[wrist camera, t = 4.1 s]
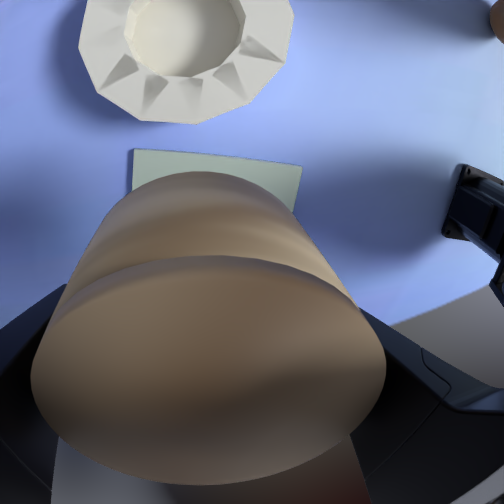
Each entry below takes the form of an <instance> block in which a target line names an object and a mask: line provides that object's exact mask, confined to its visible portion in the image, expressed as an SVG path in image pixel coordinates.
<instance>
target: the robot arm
mask: <svg viewBox="0 0 504 504" xmlns="http://www.w3.org/2000/svg"><path fill="white" fill-rule="evenodd" d="M442 235H443V236H445V237H446V238H452V239H459V240H465V241H471V242H473V243H474V244H475V245H476V246H478V247H479V248H480V249H482V250H483V251H484V252H485V253H487V254H488V255H489V256H490V257H492V258H493V259H494V260H495V261H497V262H498V263H499V265H498V268H497V270H496V272H495V275H494V277H493V279H491V281H490V283H489V286H490V287H491V289H492V290H493V292H494V294H495V295H496V297H497V298H498V300H499V301H500V303H501V304H502V306H503V307H504V181H503V180H501V179H499V178H497V177H495V176H492V175H490V174H488V173H486V172H484V171H481V170H479V169H477V168H474V167H472V166H470V165H467V164H465V165H464V166H463V168H462V171H461V174H460V178H459V181H458V184H457V187H456V191H455V194H454V197H453V200H452V203H451V206H450V209H449V212H448V214H447V217H446V220H445V223H444V225H443V228H442ZM66 286H67V284H63V285H62V286H60V287H59V288H57V289H56V290H54V291H53V292H51V293H50V294H49V295H47V296H46V297H44V298H43V299H41V300H40V301H39V302H37V303H36V304H34V305H33V306H32V307H30V308H29V309H27V310H26V311H25V312H23V313H22V314H20V315H19V316H18V317H16V318H15V319H14V320H12V321H11V322H10V323H8V324H7V325H6V326H4V327H3V328H2V329H0V504H51V495H52V491H51V490H52V482H53V474H54V466H55V458H56V451H57V445H58V438H59V436H58V435H57V433H56V432H55V431H54V430H53V429H52V428H51V427H50V426H49V424H48V423H47V422H46V420H45V419H44V418H43V416H42V415H41V413H40V411H39V409H38V407H37V405H36V403H35V400H34V396H33V393H32V389H31V369H32V363H33V360H34V357H35V355H36V352H37V350H38V347H39V345H40V342H41V340H42V338H43V335H44V333H45V331H46V328H47V326H48V324H49V322H50V319H51V317H52V315H53V313H54V311H55V308H56V306H57V304H58V302H59V300H60V298H61V296H62V294H63V292H64V290H65V288H66ZM358 308H359V307H358ZM359 309H360V311H361V312H362V314H363V315H364V317H365V318H366V320H367V321H368V323H369V324H370V326H371V327H372V329H373V330H374V332H375V334H376V335H377V337H378V339H379V341H380V343H381V345H382V347H383V350H384V354H385V358H386V377H385V381H384V386H383V389H382V391H381V394H380V396H379V398H378V400H377V402H376V403H375V405H374V407H373V408H372V410H371V411H370V413H369V414H368V415H367V416H366V418H365V419H364V420H363V421H362V422H361V423H360V425H359V426H358V427H357V428H356V429H355V430H353V431H352V432H351V433H350V437H351V440H352V443H353V446H354V449H355V452H356V455H357V458H358V461H359V464H360V467H361V470H362V473H363V477H364V479H365V483H366V487H367V489H368V493H369V496H370V499H371V502H372V504H504V389H503V388H495V387H491V386H489V385H487V384H484V383H482V382H480V381H479V380H477V379H475V378H473V377H471V376H470V375H468V374H466V373H464V372H462V371H460V370H459V369H457V368H455V367H453V366H452V365H450V364H448V363H446V362H444V361H443V360H441V359H440V358H438V357H436V356H435V355H433V354H432V353H430V352H428V351H427V350H425V349H424V348H421V347H420V346H419V345H418V344H416V343H414V342H413V341H411V340H410V339H408V338H407V337H405V336H403V335H402V334H400V333H399V332H397V331H396V330H394V329H392V328H391V327H389V326H388V325H386V324H385V323H383V322H381V321H380V320H378V319H377V318H375V317H374V316H372V315H370V314H369V313H367V312H366V311H364V310H363V309H361V308H359Z"/></svg>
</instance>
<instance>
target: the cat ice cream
mask: <svg viewBox="0 0 504 504" xmlns="http://www.w3.org/2000/svg"><path fill="white" fill-rule="evenodd" d="M490 24H491V27H492V29H493V32H494V34H495V35H496V37H497V38H498V39H499V40H500V41H501V42H502V43H503V44H504V0H498V1H497V2H496V3H494V4H493V6H492V7H491V10H490Z"/></svg>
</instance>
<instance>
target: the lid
mask: <svg viewBox="0 0 504 504" xmlns="http://www.w3.org/2000/svg"><path fill="white" fill-rule="evenodd" d="M385 377H386V358H385V354H384V350H383V347H382V345H381V343H380V341H379V339H378V337H377V335H376V334H375V332H374V330H373V329H372V327H371V326H370V324H369V323H368V321H367V320H366V318H365V317H364V315H363V314H362V312H361V311H360V309H359V308H358V306H357V305H356V303H355V302H354V300H353V299H352V297H351V296H350V294H349V293H348V291H347V290H346V288H345V287H344V285H343V284H342V282H341V281H340V280H339V278H338V277H337V275H336V274H335V272H334V271H333V269H332V268H331V267H330V265H329V264H328V262H327V261H326V259H325V258H324V257H323V255H322V254H321V252H320V251H319V249H318V248H317V247H316V245H315V244H314V242H313V241H312V240H311V238H310V237H309V235H308V234H307V233H306V231H305V230H304V228H303V227H302V226H301V224H300V223H299V222H298V220H297V219H296V218H295V216H294V215H293V214H292V212H291V211H290V210H289V209H288V208H287V207H286V206H285V204H284V203H283V202H281V201H280V200H279V199H278V198H277V197H275V196H274V195H273V194H272V193H270V192H269V191H267V190H265V189H264V188H262V187H261V186H259V185H257V184H255V183H252V182H250V181H248V180H246V179H243V178H240V177H236V176H233V175H229V174H225V173H217V172H210V171H190V172H183V173H176V174H171V175H168V176H164V177H161V178H157V179H155V180H152V181H150V182H148V183H146V184H143V185H141V186H140V187H138V188H136V189H135V190H133V191H132V192H130V193H129V194H127V195H126V196H125V197H124V198H122V199H121V200H120V201H119V202H118V203H117V204H116V205H115V206H114V207H113V208H112V209H111V210H110V211H109V213H108V214H107V215H106V216H105V218H104V219H103V221H102V223H101V224H100V226H99V227H98V229H97V231H96V233H95V234H94V236H93V238H92V239H91V241H90V243H89V245H88V246H87V248H86V250H85V252H84V254H83V255H82V257H81V259H80V261H79V263H78V265H77V267H76V268H75V270H74V272H73V274H72V276H71V278H70V280H69V282H68V284H67V286H66V288H65V290H64V292H63V294H62V296H61V298H60V300H59V302H58V304H57V306H56V308H55V311H54V313H53V315H52V317H51V319H50V322H49V324H48V326H47V328H46V331H45V333H44V335H43V338H42V340H41V342H40V345H39V347H38V350H37V352H36V355H35V357H34V360H33V363H32V369H31V389H32V393H33V396H34V400H35V403H36V405H37V407H38V409H39V411H40V413H41V415H42V416H43V418H44V419H45V420H46V422H47V423H48V424H49V426H50V427H51V428H52V429H53V430H54V431H55V432H56V433H57V435H58V436H59V437H60V438H62V439H63V440H64V441H65V442H66V443H68V444H69V445H70V446H71V447H73V448H74V449H75V450H77V451H79V452H80V453H81V454H83V455H84V456H86V457H88V458H90V459H92V460H94V461H96V462H97V463H99V464H102V465H104V466H106V467H109V468H111V469H113V470H116V471H119V472H121V473H124V474H127V475H131V476H135V477H138V478H142V479H147V480H152V481H157V482H163V483H171V484H184V485H215V484H227V483H235V482H241V481H247V480H253V479H257V478H261V477H265V476H269V475H273V474H276V473H279V472H282V471H285V470H288V469H290V468H293V467H295V466H298V465H300V464H302V463H305V462H307V461H309V460H311V459H313V458H315V457H317V456H318V455H320V454H322V453H324V452H325V451H327V450H329V449H330V448H332V447H333V446H335V445H336V444H337V443H339V442H340V441H342V440H343V439H344V438H345V437H346V436H348V435H349V434H350V433H351V432H352V431H353V430H355V429H356V428H357V427H358V426H359V425H360V423H361V422H362V421H363V420H364V419H365V418H366V416H367V415H368V414H369V413H370V411H371V410H372V408H373V407H374V405H375V403H376V402H377V400H378V398H379V396H380V394H381V391H382V389H383V386H384V381H385Z"/></svg>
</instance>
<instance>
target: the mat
mask: <svg viewBox="0 0 504 504" xmlns="http://www.w3.org/2000/svg"><path fill="white" fill-rule="evenodd" d="M302 169H303V167H302V166H298V165H292V164H285V163H278V162H272V161H264V160H257V159H249V158H241V157H233V156H224V155H215V154H205V153H195V152H183V151H170V150H156V149H139V148H135V149H134V160H133V177H132V191H133V190H135V189H136V188H138V187H140V186H141V185H143V184H146V183H148V182H150V181H152V180H155V179H157V178H161V177H164V176H168V175H171V174H176V173H183V172H190V171H210V172H217V173H225V174H229V175H233V176H236V177H240V178H243V179H246V180H248V181H250V182H252V183H255V184H257V185H259V186H261V187H262V188H264V189H265V190H267V191H269V192H270V193H272V194H273V195H274V196H275V197H277V198H278V199H279V200H280V201H281V202H283V203H284V204H285V206H286V207H287V208H288V209H289V210H290V211H291V212H292V213H293V209H294V205H295V200H296V196H297V192H298V187H299V183H300V178H301V174H302Z"/></svg>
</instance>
